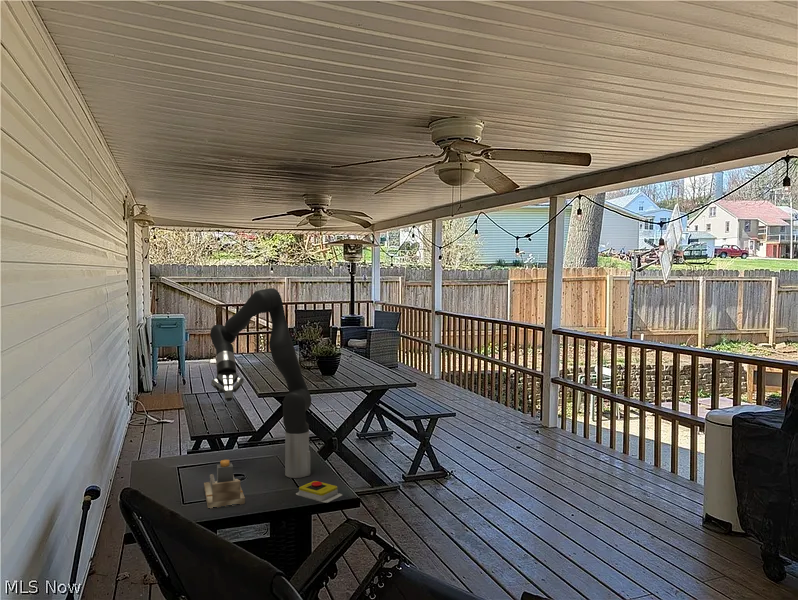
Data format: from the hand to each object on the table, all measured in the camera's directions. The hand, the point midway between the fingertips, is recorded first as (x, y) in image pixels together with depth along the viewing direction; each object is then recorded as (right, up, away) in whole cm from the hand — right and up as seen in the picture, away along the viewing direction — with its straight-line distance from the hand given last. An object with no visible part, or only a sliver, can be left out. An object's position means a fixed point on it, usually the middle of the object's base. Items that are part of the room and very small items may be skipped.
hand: (229, 400), depth 222 cm
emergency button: (+38, -31, -19) cm, 52 cm away
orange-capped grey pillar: (+6, -28, -25) cm, 38 cm away
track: (+4, -30, -20) cm, 37 cm away
